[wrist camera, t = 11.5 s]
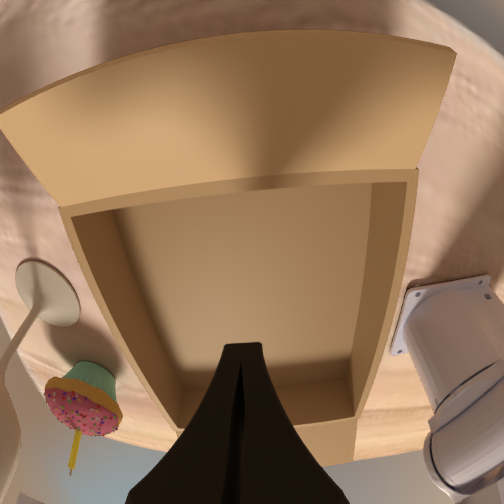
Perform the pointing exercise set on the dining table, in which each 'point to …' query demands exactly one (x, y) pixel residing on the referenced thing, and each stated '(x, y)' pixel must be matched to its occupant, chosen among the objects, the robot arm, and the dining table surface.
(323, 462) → the flap
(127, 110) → the flap
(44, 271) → the wineglass
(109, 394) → the cupcake
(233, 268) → the carton
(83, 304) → the dining table surface
